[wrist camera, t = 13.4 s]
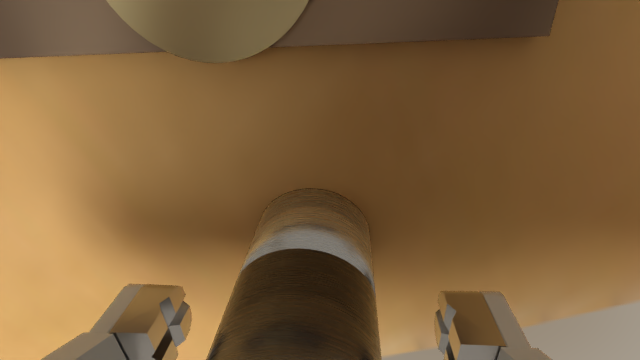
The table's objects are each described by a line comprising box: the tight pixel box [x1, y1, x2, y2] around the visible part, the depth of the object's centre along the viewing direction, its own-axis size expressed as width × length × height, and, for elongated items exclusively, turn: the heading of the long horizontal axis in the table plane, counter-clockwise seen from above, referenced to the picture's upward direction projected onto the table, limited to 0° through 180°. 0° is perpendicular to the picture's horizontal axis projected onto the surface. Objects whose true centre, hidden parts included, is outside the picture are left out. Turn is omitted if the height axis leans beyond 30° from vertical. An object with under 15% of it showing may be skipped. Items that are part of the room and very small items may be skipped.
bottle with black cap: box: [206, 189, 382, 360], centre depth 9 cm, size 4×4×8 cm
